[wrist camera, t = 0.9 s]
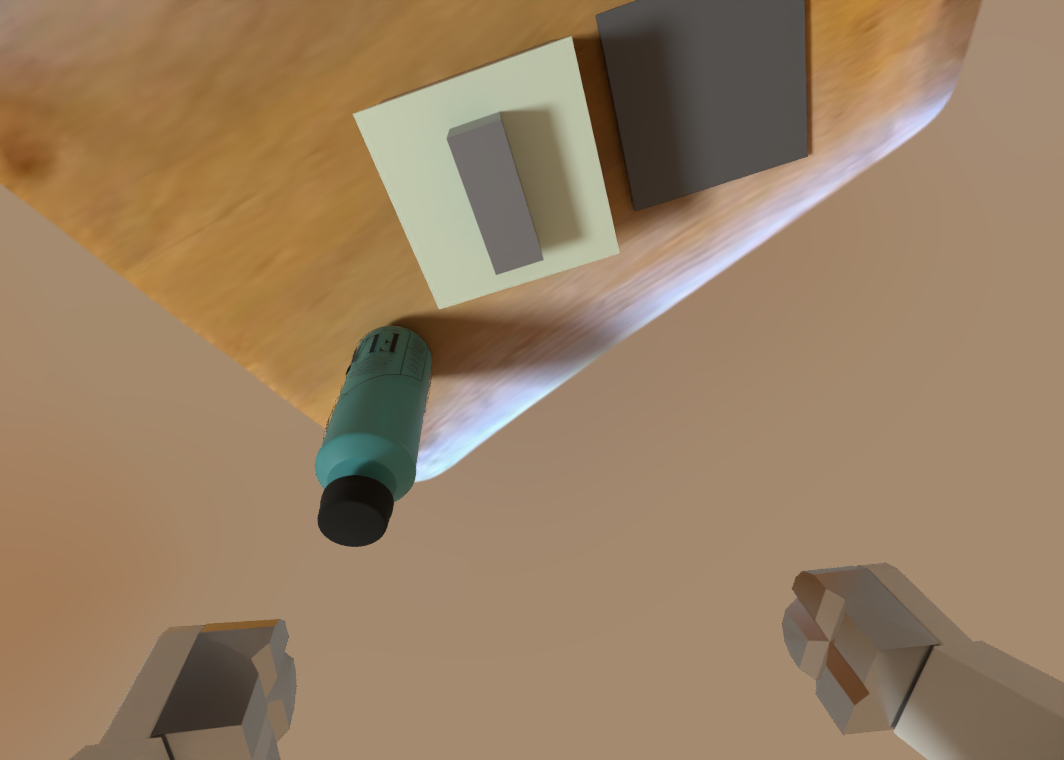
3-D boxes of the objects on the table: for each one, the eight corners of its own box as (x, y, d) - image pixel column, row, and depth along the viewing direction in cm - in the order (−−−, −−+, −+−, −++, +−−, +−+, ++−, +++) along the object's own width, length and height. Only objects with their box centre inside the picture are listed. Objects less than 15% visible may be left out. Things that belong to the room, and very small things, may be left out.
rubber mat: (798, -58, 34) (803, -59, 34) (803, 154, 41) (807, 156, 41) (595, 15, 35) (597, 15, 35) (633, 209, 42) (635, 211, 42)
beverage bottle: (411, 302, 45) (367, 467, 29) (449, 364, 49) (431, 543, 32) (343, 333, 46) (263, 509, 30) (385, 391, 50) (335, 578, 33)
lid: (567, 35, 31) (579, 37, 27) (614, 243, 38) (629, 270, 34) (359, 109, 32) (341, 122, 28) (440, 298, 39) (435, 330, 35)
